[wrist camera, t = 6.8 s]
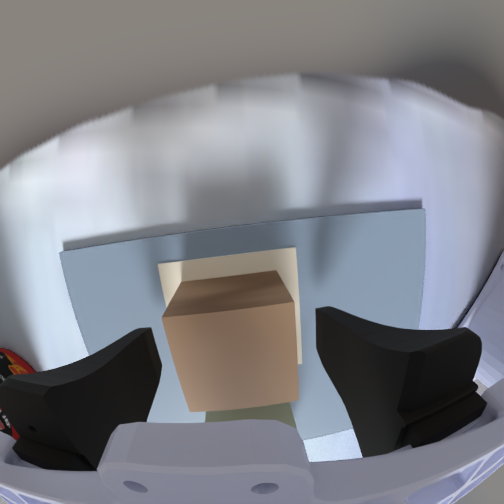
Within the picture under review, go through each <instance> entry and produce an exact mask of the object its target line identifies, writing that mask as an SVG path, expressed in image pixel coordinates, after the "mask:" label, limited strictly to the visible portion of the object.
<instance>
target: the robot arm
mask: <svg viewBox="0 0 504 504" xmlns="http://www.w3.org/2000/svg"><path fill="white" fill-rule="evenodd" d="M315 316H316V349H317V352H318V355H319V358H320V360H321V363H322V365H323V367H324V369H325V371H326V373H327V374H328V376H329V378H330V380H331V382H332V383H333V385H334V387H335V389H336V390H337V392H338V394H339V396H340V397H341V399H342V401H343V403H344V405H345V408H346V410H347V413H348V415H349V418H350V421H351V423H352V426H353V429H354V432H355V434H356V437H357V440H358V443H359V447H360V450H361V453H362V456H363V458H356V459H348V460H337V461H323V462H309V460H308V457H307V454H306V450H305V447H304V443H303V440H302V439H301V437H300V435H299V433H298V431H297V429H296V428H294V427H291V426H289V425H287V424H284V423H282V422H280V421H278V420H260V419H245V420H235V421H222V422H204V423H151V422H147V419H148V416H149V413H150V410H151V407H152V404H153V401H154V398H155V395H156V392H157V389H158V386H159V383H160V377H161V371H162V362H161V359H160V356H159V352H158V349H157V346H156V342H155V339H154V335H153V331H152V328H151V327H146V328H138V329H135V330H133V331H131V332H129V333H128V334H126V335H124V336H123V337H121V338H120V339H118V340H116V341H115V342H113V343H111V344H110V345H108V346H106V347H105V348H103V349H101V350H99V351H97V352H96V353H94V354H92V355H90V356H88V357H86V358H83V359H81V360H79V361H76V362H74V363H71V364H68V365H65V366H62V367H59V368H55V369H51V370H47V371H42V372H37V373H29V374H18V375H10V376H8V377H7V378H6V379H5V380H4V381H3V382H2V383H1V384H0V407H1V409H2V411H3V412H4V414H5V415H6V417H7V419H8V420H9V422H10V423H11V424H12V426H13V427H14V429H15V430H16V432H17V433H18V434H19V436H20V437H19V438H18V440H17V441H16V440H15V439H14V438H13V437H11V436H9V435H7V434H5V433H3V432H1V431H0V497H1V498H2V499H3V500H4V501H6V502H7V503H8V504H453V503H455V502H456V501H457V500H459V499H460V498H462V497H463V496H464V495H466V494H467V493H468V492H470V491H471V490H472V489H474V488H475V487H476V486H477V485H479V484H480V483H481V482H482V481H484V480H485V479H486V478H487V477H488V476H490V475H491V474H492V473H493V472H494V471H496V470H497V469H498V468H499V467H500V466H501V465H502V464H504V251H503V252H502V254H501V256H500V258H499V260H498V262H497V264H496V266H495V268H494V270H493V272H492V274H491V276H490V277H489V279H488V281H487V283H486V284H485V286H484V288H483V290H482V291H481V293H480V295H479V296H478V298H477V299H476V301H475V303H474V304H473V306H472V307H471V309H470V310H469V312H468V313H467V315H466V316H465V318H464V319H463V321H462V322H461V324H460V325H459V326H458V328H453V329H445V330H414V329H404V328H397V327H392V326H387V325H383V324H379V323H375V322H372V321H369V320H366V319H363V318H360V317H357V316H355V315H352V314H350V313H347V312H345V311H342V310H340V309H337V308H334V307H331V306H326V307H320V308H315ZM476 378H477V379H478V380H480V381H481V382H482V383H483V384H484V385H485V386H486V387H488V389H487V390H485V391H484V393H483V394H482V395H481V396H480V395H479V394H478V393H477V392H475V391H477V389H478V385H477V384H476V383H475V382H474V380H475V379H476Z"/></svg>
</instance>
